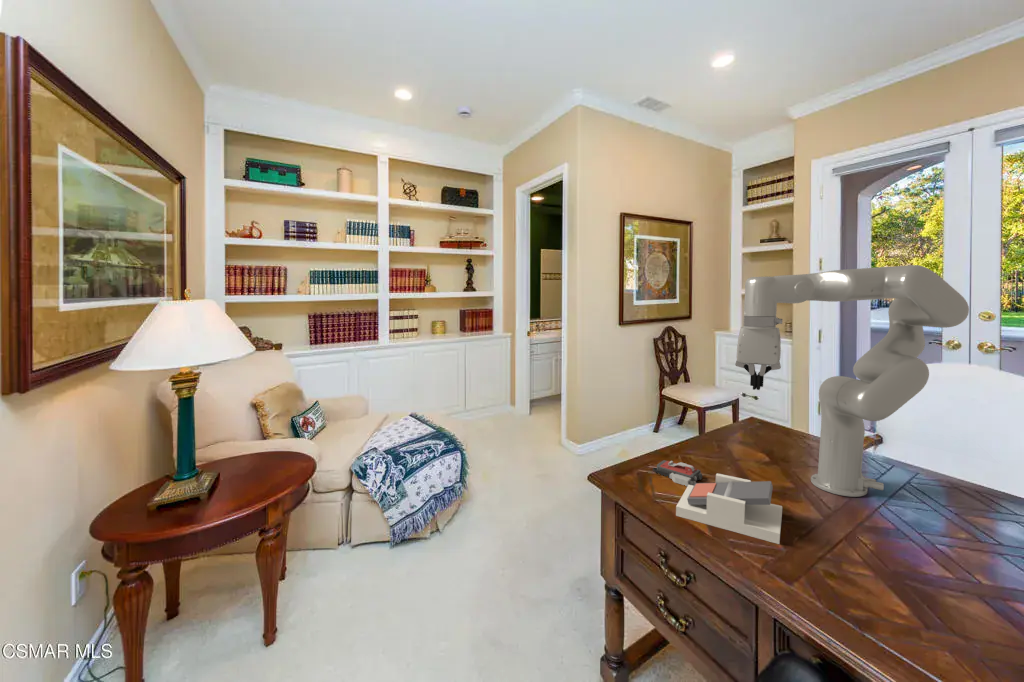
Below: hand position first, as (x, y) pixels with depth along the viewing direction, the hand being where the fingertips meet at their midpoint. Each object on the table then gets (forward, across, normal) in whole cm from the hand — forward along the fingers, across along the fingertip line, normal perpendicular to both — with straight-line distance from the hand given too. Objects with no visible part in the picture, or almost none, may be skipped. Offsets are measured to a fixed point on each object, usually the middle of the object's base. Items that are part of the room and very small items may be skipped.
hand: (756, 388), depth 113 cm
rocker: (+23, +4, +19) cm, 30 cm away
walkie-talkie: (+30, +17, +4) cm, 34 cm away
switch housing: (+29, +4, +19) cm, 35 cm away
